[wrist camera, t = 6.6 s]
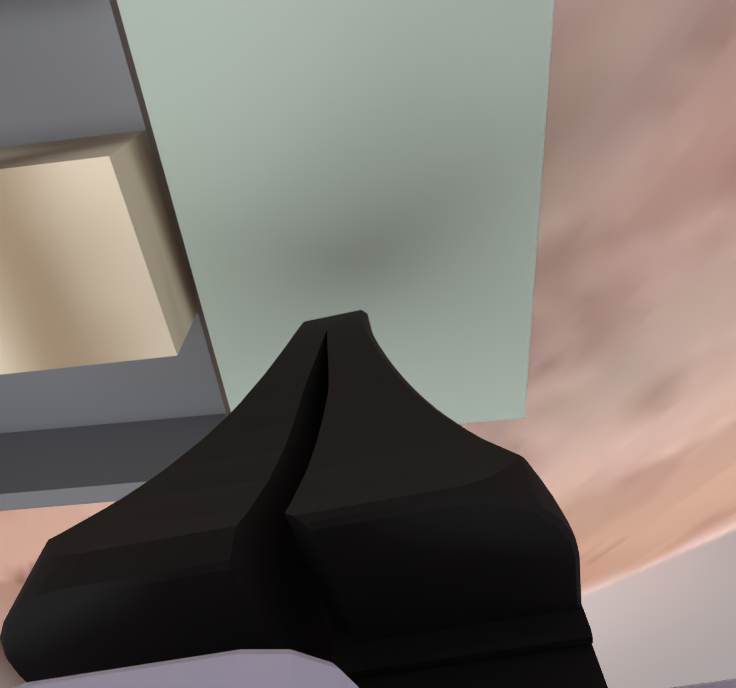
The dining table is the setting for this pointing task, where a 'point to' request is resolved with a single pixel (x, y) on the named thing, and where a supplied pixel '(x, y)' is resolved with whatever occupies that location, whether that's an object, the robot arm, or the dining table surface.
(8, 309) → the birch tile
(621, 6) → the dining table surface
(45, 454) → the box
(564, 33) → the dining table surface
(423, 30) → the far plate
